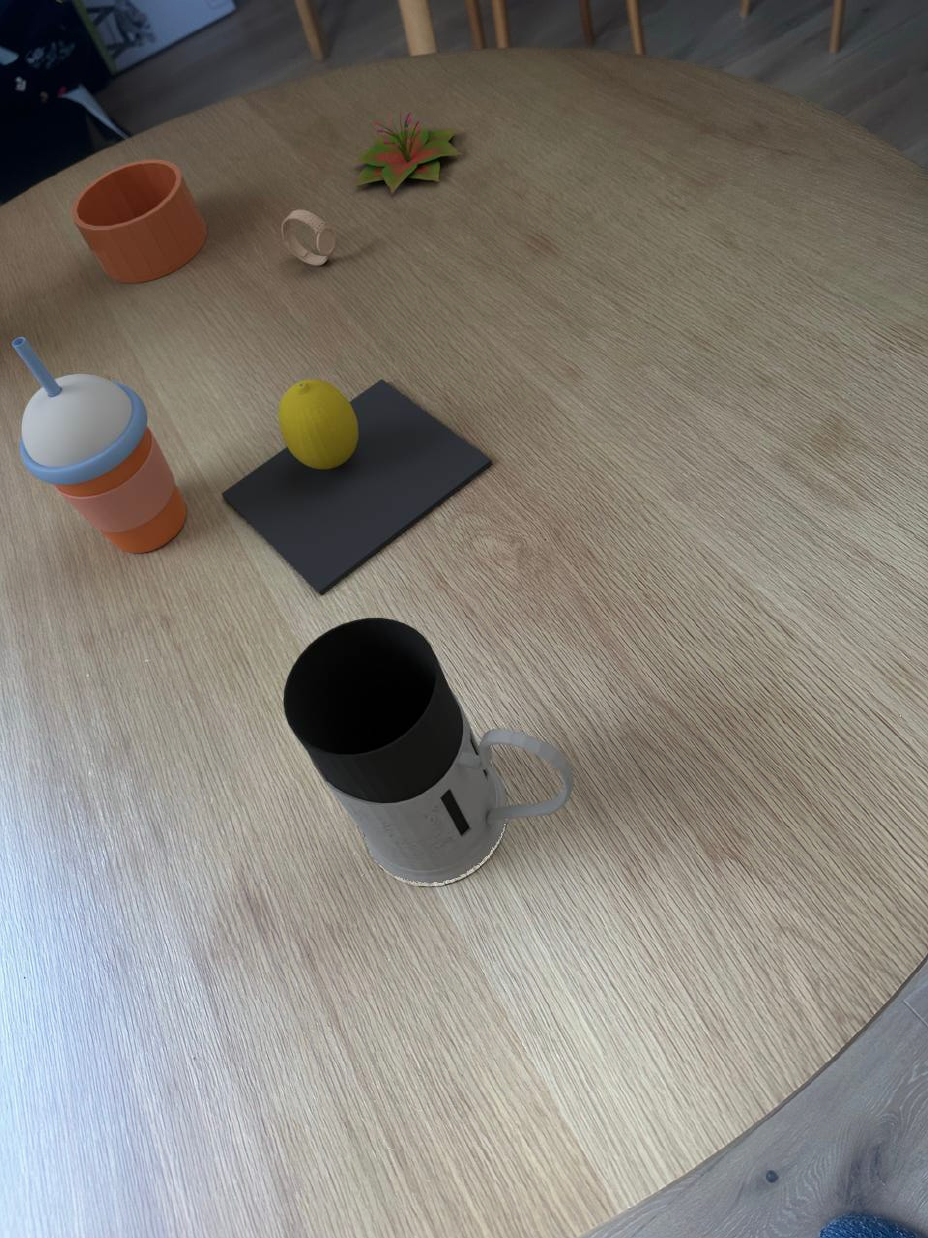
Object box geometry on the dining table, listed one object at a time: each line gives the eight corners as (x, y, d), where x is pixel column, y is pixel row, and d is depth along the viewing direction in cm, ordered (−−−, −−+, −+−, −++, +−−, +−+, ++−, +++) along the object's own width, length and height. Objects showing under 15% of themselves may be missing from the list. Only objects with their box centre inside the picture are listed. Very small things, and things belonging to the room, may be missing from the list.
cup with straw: (201, 557, 73) (74, 373, 59) (87, 580, 75) (-64, 405, 60) (209, 469, 79) (95, 281, 64) (103, 492, 80) (-32, 312, 65)
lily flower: (478, 124, 100) (469, 78, 96) (451, 195, 93) (440, 150, 90) (368, 133, 103) (355, 89, 100) (335, 202, 97) (320, 159, 93)
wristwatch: (328, 273, 91) (310, 225, 87) (288, 265, 93) (268, 218, 89) (344, 255, 92) (327, 207, 88) (304, 248, 94) (285, 200, 90)
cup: (132, 298, 95) (101, 244, 90) (85, 256, 101) (53, 204, 96) (227, 237, 98) (201, 181, 93) (175, 200, 104) (148, 146, 99)
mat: (321, 596, 69) (318, 591, 68) (223, 497, 77) (221, 493, 76) (492, 464, 73) (491, 459, 72) (383, 382, 80) (381, 378, 80)
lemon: (353, 494, 73) (318, 416, 67) (289, 485, 75) (249, 409, 69) (381, 440, 76) (350, 360, 69) (319, 433, 78) (283, 354, 71)
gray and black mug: (399, 731, 61) (321, 591, 49) (619, 793, 56) (592, 652, 44) (338, 860, 57) (237, 742, 45) (569, 940, 52) (524, 830, 40)
